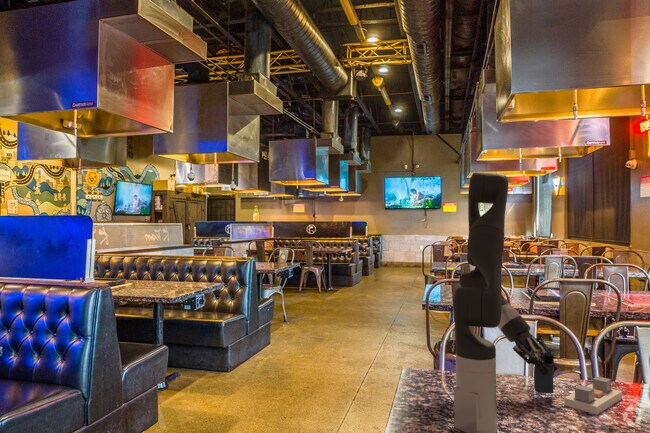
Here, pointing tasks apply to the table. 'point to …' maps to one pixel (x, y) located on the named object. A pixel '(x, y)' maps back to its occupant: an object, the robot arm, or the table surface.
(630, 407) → the table surface
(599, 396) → the key mid
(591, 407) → the keypad base
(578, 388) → the key left
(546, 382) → the vaping device
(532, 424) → the table surface
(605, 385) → the key right
